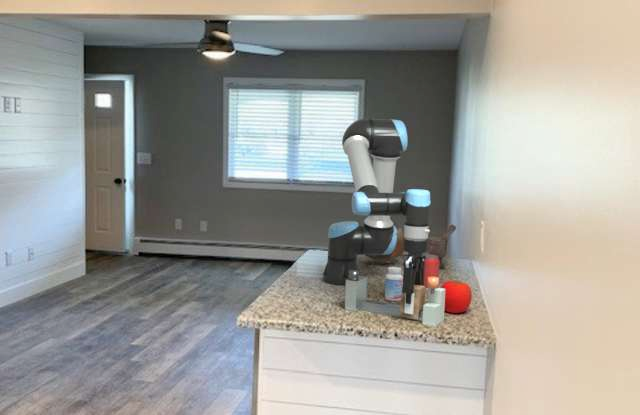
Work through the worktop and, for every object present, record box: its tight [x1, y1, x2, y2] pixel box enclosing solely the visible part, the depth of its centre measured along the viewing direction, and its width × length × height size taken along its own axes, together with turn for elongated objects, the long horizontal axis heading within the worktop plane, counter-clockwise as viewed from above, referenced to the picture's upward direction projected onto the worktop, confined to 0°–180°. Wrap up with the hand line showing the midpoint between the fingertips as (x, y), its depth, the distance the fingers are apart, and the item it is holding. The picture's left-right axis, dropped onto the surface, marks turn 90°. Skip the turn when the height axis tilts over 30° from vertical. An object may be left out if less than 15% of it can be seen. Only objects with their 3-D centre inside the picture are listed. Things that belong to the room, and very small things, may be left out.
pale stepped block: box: [421, 287, 445, 327], centre depth 187 cm, size 4×9×10 cm, turn 150°
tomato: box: [440, 280, 473, 314], centre depth 199 cm, size 10×11×11 cm
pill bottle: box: [384, 266, 403, 302], centre depth 213 cm, size 6×6×11 cm
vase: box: [364, 216, 405, 265], centre depth 272 cm, size 23×19×30 cm
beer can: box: [424, 253, 440, 288], centre depth 234 cm, size 7×7×12 cm
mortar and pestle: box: [427, 224, 457, 269], centre depth 270 cm, size 12×9×20 cm
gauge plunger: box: [426, 276, 440, 294], centre depth 184 cm, size 3×3×5 cm
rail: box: [344, 269, 423, 322], centre depth 195 cm, size 27×8×13 cm, turn 60°
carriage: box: [400, 285, 426, 319], centre depth 191 cm, size 6×5×10 cm
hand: (412, 310), depth 191 cm, fingers closed on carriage, 5 cm apart
